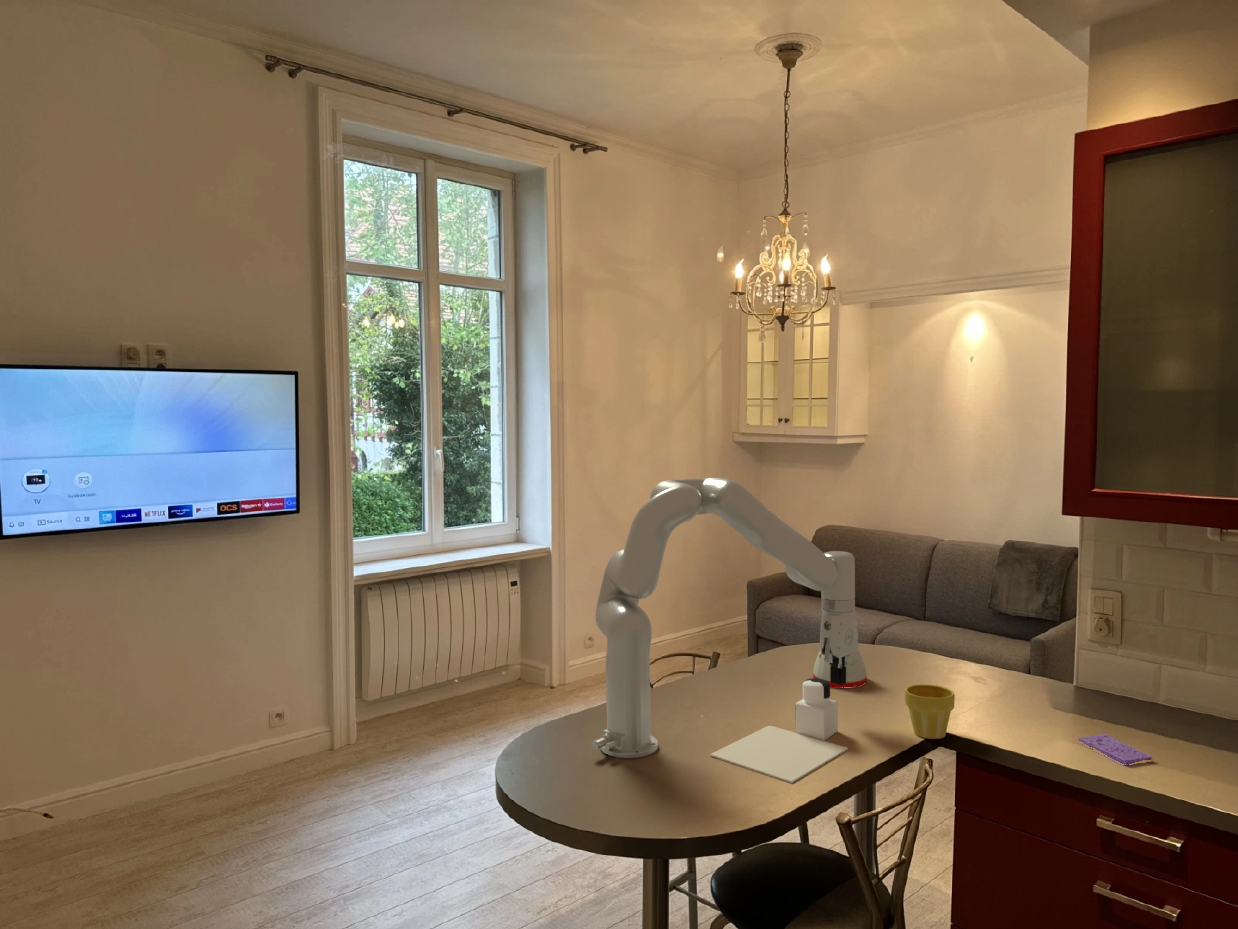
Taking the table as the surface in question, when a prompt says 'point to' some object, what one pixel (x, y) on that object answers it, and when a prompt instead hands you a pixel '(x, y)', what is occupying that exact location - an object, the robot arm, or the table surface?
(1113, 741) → the sponges
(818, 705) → the medicine bottle
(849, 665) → the kitchen timer
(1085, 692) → the table surface
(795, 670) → the table surface
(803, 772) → the mat
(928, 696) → the plant pot
